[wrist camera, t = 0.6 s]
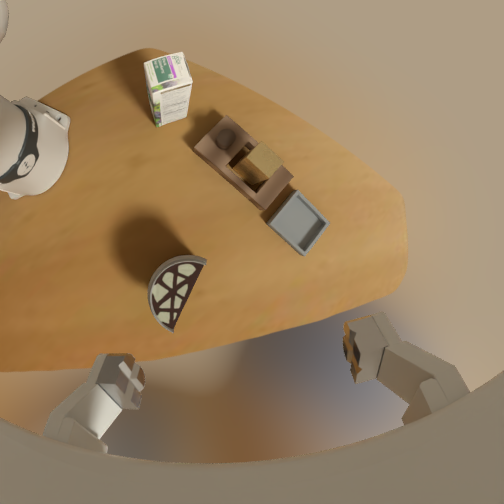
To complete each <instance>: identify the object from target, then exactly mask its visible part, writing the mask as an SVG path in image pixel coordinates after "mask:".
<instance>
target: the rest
mask: <svg viewBox="0 0 504 504" xmlns="http://www.w3.org/2000/svg"><path fill="white" fill-rule="evenodd" d="M266 224H267V225H268V226H269V227H270V228H271V229H273V230H274V231H275V232H276V233H277V234H278V235H279V236H280V237H281V238H282V239H284V240H285V241H286V242H287V243H288V244H289V245H290V246H291V247H292V248H293V249H294V250H295V251H297V252H298V253H299V254H300V255H302V256H306V254H307V253H308V252H309V251H310V249H311V248H312V247H313V245H314V244H315V243H316V241H317V240H318V239H319V237H320V236H321V235H322V233H323V232H324V231H325V229H326V228H327V227H328V225H329V224H330V222H329V221H328V220H327V219H326V218H325V217H324V216H323V215H322V214H321V213H320V212H319V211H318V210H317V209H316V208H315V207H314V206H313V205H312V204H311V203H310V202H309V201H308V200H307V199H306V198H305V197H304V196H303V195H302V194H301V193H300V192H299V191H298V190H294V191H293V192H292V193H291V194H290V195H289V196H288V198H287V199H286V200H285V201H284V202H283V204H282V205H281V206H280V207H279V209H278V210H277V211H276V212H275V213H274V215H273V216H272V217H271V218H270V219H269V221H268V222H267V223H266Z"/></svg>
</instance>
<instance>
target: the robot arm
mask: <svg viewBox="0 0 504 504" xmlns="http://www.w3.org/2000/svg"><path fill="white" fill-rule="evenodd" d="M8 14H9V13H8V6H7V2H6V0H0V42H1V41H2V39H3V38H4V37H5V34H6V31H7V26H8V18H9V15H8ZM60 118H61V120H60V121H59V119H60ZM69 125H70V118H69V116H67V115H65V114H63V113H61V112H59V111H57V110H55V109H53V108H50V107H48V106H46V105H44V104H42V103H40V102H38V101H36V100H33V99H31V98H29V97H24V98H22V99H21V100H19V101H16V100H14V101H12V102H9V101H8V100H7V99H5V98H4V97H2V96H1V95H0V190H2V191H6V192H8V194H9V196H10V198H11V199H14V200H16V199H18V198H20V197H22V196H24V195H37V194H40V193H43V192H45V191H46V190H48V189H49V188H50V187H51V186H52V185H53V184H54V183H55V182H56V181H57V180H58V178H59V177H60V175H61V173H62V171H63V169H64V167H65V164H66V161H67V157H68V149H69V144H68V135H67V133H68V129H69ZM343 329H344V332H345V336H344V337H343V350H344V354H345V357H346V360H347V361H348V362H349V363H351V368H350V371H351V374H352V376H353V379H354V382H355V384H358V383H362V382H365V381H369V380H372V379H376V378H377V380H378V381H379V382H381V383H382V384H383V385H385V386H386V387H387V388H389V389H390V390H391V391H393V392H394V393H395V394H396V395H398V396H399V397H400V398H402V399H403V400H404V401H406V402H407V403H409V404H410V405H409V406H408V408H407V410H406V411H405V413H404V415H403V417H402V421H403V423H404V426H402V427H399V428H397V429H394V430H391V431H389V432H386V433H384V434H380V435H378V436H374V437H371V438H368V439H365V440H362V441H359V442H355V443H352V444H348V445H344V446H341V447H337V448H333V449H329V450H324V451H320V452H315V453H310V454H305V455H300V456H294V457H288V458H281V459H273V460H265V461H255V462H243V463H219V464H195V463H172V462H160V461H151V460H142V459H135V458H128V457H122V456H117V455H111V454H107V450H108V447H107V445H106V444H105V443H103V442H102V441H101V440H99V439H100V437H101V436H102V435H103V434H104V432H105V431H106V430H107V429H108V427H109V426H110V425H111V424H112V422H113V421H114V420H115V418H116V417H117V416H118V415H119V413H120V412H121V411H122V409H139V407H140V402H141V398H142V395H141V393H140V391H141V390H142V389H143V388H144V385H145V374H144V371H143V369H142V368H141V367H140V366H139V365H138V364H136V363H135V358H134V357H133V355H132V354H128V353H121V354H99V355H98V356H97V357H96V360H95V362H94V364H93V367H92V369H91V372H90V374H89V376H88V379H87V382H86V383H83V384H82V385H81V386H79V387H78V388H77V389H76V390H75V391H74V392H73V393H72V394H71V395H70V396H68V397H67V398H66V399H65V400H64V401H63V402H62V403H61V404H59V405H58V406H57V407H56V408H55V409H54V410H53V411H52V412H51V413H50V416H49V418H48V421H47V424H46V427H45V429H44V432H43V435H40V434H37V433H35V432H32V431H30V430H27V429H24V428H22V427H20V426H18V425H15V424H13V423H11V422H9V421H7V420H5V419H3V418H0V504H504V371H502V372H501V373H500V374H498V375H497V376H495V377H494V378H492V379H491V380H489V381H488V382H487V383H485V384H483V385H482V386H480V387H479V388H477V389H475V390H474V391H472V392H470V391H469V389H468V388H467V386H466V384H465V382H464V381H463V379H462V377H461V375H460V374H459V372H458V370H457V369H456V367H455V366H454V365H452V364H450V363H448V362H446V361H444V360H442V359H440V358H438V357H436V356H434V355H432V354H430V353H428V352H426V351H424V350H422V349H421V348H419V347H417V346H415V345H413V344H411V343H409V342H407V341H403V342H402V341H401V339H400V337H399V335H398V334H397V332H396V330H395V329H394V327H393V326H392V324H391V322H390V321H389V319H388V317H387V316H386V314H385V313H384V312H380V313H376V314H372V315H370V316H369V315H368V316H365V317H361V318H357V319H354V320H350V321H346V322H345V323H344V328H343Z"/></svg>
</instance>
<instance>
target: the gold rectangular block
mask: <svg viewBox="0 0 504 504" xmlns="http://www.w3.org/2000/svg"><path fill="white" fill-rule="evenodd" d="M283 162H284V161H283V160H282V159H281V158H280V157H278V156H277V155H276V154H275V153H274V152H273V151H272V150H271V149H270V148H269V147H268V146H267V145H266V144H265V143H263V142H262V141H261V142H260V143H258V144H257V145H256V146H255V147H254V148H252V149H251V150H250V151H249V152H248V153H246V154H245V155H244V156H243V157H242V158H241V159H240V161H239V162H238V163H237V164H236V165H235V166H234V167H233V168H232V169H233V170H234V171H235V172H237V173H238V174H239V175H240V176H241V177H242V178H243V179H244V180H246V181H247V182H248V183H249V184H250V185H253V184H256V183H258V182H261V181H264V180H266V179H269V178H270V177H271V176H272V175H273V174H274V172H275V171H276V170H277V169H278V168H279V167H280V166H281V164H282V163H283Z"/></svg>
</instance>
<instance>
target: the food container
mask: <svg viewBox="0 0 504 504" xmlns="http://www.w3.org/2000/svg"><path fill="white" fill-rule="evenodd" d="M206 262H207V261H206V259H205V258H202V257H199V256H195V255H182V256H177V257H174V258H171V259H169V260H167V261H166V262H164V263H163V264H162V265H160V266H159V267H158V268H157V270H156V271H155V272H154V274H153V275H152V277H151V279H150V282H149V286H148V302H149V306H150V309H151V311H152V313H153V315H154V317H155V319H156V320H157V321H158V322H159V323H160V324H161V325H162V326H163V327H164V328H165V329H167V330H168V331H170V332H172V333H174V327H175V325H176V322H177V320H178V318H179V316H180V314H181V311H182V309H183V307H184V305H185V303H186V301H187V299H188V297H189V295H190V293H191V291H192V288H193V286H194V284H195V282H196V280H197V278H198V276H199V274H200V272H201V270H202V268H203V266H204V265H206ZM203 264H204V265H203Z"/></svg>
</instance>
